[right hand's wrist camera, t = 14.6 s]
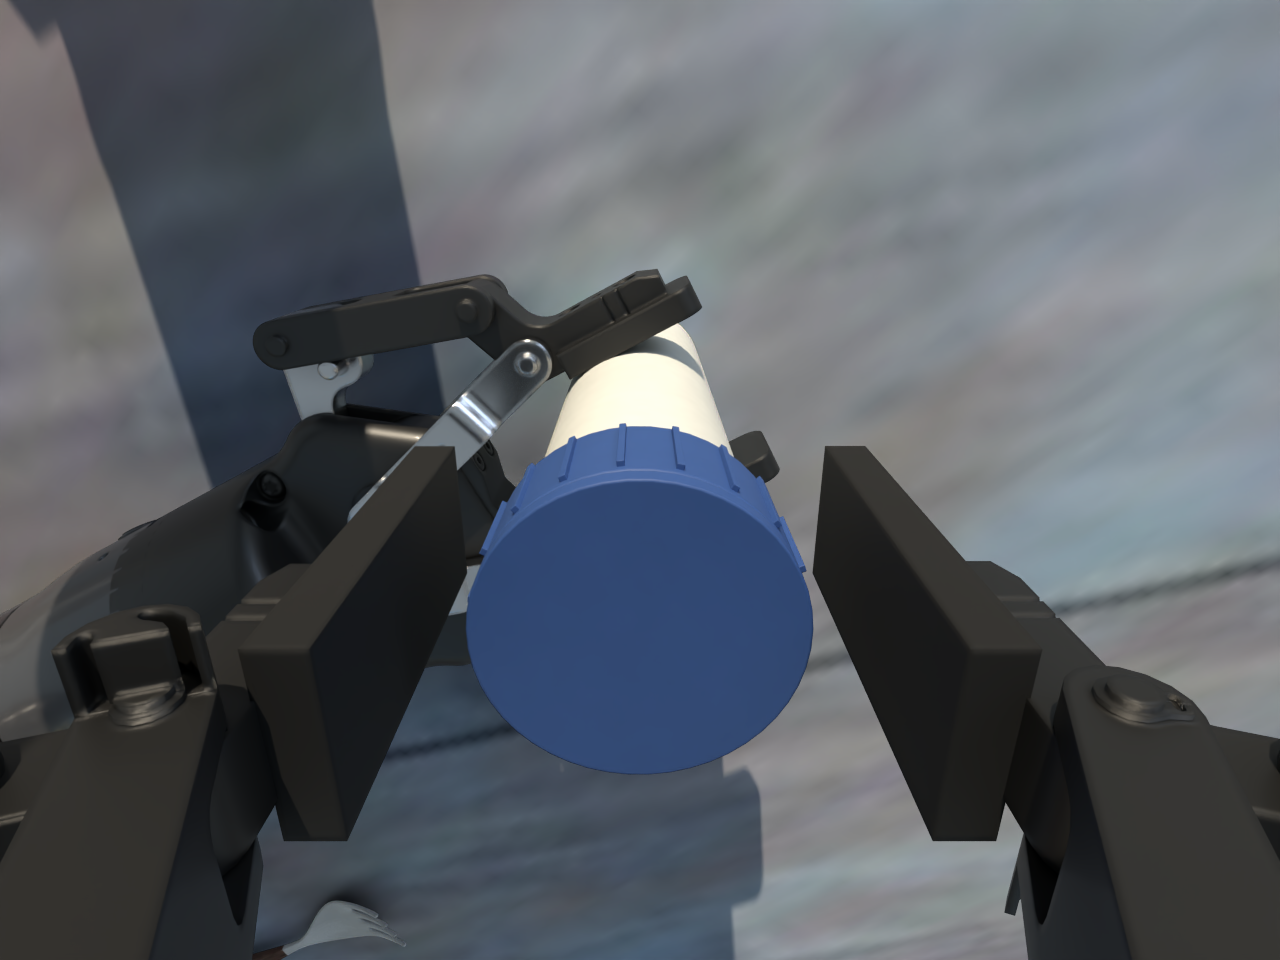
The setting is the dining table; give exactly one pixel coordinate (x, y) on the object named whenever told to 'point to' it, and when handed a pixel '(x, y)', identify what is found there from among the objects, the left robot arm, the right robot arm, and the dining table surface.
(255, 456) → the dining table surface
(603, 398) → the jar
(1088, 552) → the dining table surface
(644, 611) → the lid
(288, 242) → the dining table surface
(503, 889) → the dining table surface
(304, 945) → the fork
